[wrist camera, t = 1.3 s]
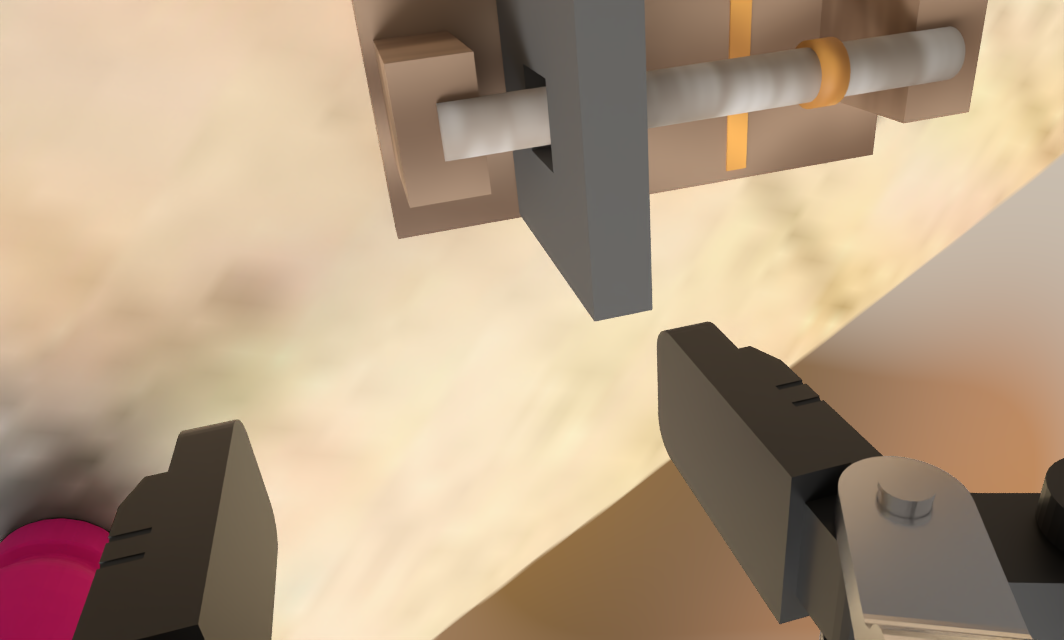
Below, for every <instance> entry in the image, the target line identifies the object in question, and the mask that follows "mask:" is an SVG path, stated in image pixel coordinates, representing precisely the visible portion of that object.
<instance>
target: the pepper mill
mask: <svg viewBox="0 0 1064 640" xmlns="http://www.w3.org/2000/svg"><path fill="white" fill-rule="evenodd" d="M108 536H109V532H107V531H106V530H104V529H103V528H101V527H98V526H95V525H93V524H90V523H88V522H85V521H79V520H72V519H65V518H59V519H47V520H41V521H37V522H34V523H30V524H27V525H25V526H23V527H21V528H19V529H17V530H15V531H14V532H12V533H11V534H9V535H8V536H7V537H6V538H5V539H4V540H3V541H2V542H1V543H0V640H72V638H73V635H74V632H75V630H76V627H77V624H78V621H79V618H80V615H81V613H82V610H83V607H84V604H85V601H86V598H87V596H88V593H89V590H90V587H91V584H92V581H93V579H94V576H95V573H96V570H97V569H100V564H99V562H100V559H101V556H102V553H103V550H104V547H105V545H106V543H109V538H108Z"/></svg>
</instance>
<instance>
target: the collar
mask: <svg viewBox="0 0 1064 640" xmlns="http://www.w3.org/2000/svg"><path fill="white" fill-rule="evenodd" d="M496 5H497V14H498V23H499V32H500V41H501V50H502V59H503V68H504V77H505V86H506V92H512V91H518V90H525V89H532V88H538V87H545V86H546V92H547V103H548V115H549V127H550V138H551V144H550V145H544V146H538V147H532V148H526V149H520V150H514V151H513V159H514V168H515V177H516V186H517V195H518V204H519V213H520V215H521V217H522V218H523V220H524V221H525V222H526V224H527V225H528V227H529V228H530V230H531V231H532V232H533V234H534V235H535V237H536V238H537V240H538V241H539V242H540V244H541V245H542V247H543V248H544V250H545V251H546V253H547V254H548V255H549V257H550V258H551V260H552V261H553V263H554V264H555V265H556V267H557V268H558V270H559V271H560V273H561V274H562V275H563V277H564V278H565V280H566V281H567V283H568V284H569V285H570V287H571V288H572V290H573V291H574V293H575V294H576V296H577V297H578V298H579V300H580V301H581V303H582V304H583V306H584V307H585V308H586V310H587V311H588V313H589V314H590V316H591V317H592V318H593V320H594V321H599V320H604V319H609V318H614V317H619V316H624V315H629V314H634V313H639V312H643V311H648V310H652V277H651V238H650V199H649V160H648V120H647V81H646V42H645V3H644V0H496Z"/></svg>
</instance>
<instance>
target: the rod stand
mask: <svg viewBox="0 0 1064 640" xmlns="http://www.w3.org/2000/svg"><path fill="white" fill-rule="evenodd" d="M644 3H645V42H646V81H647V120H648V160H649V194H654V193H659V192H665V191H671V190H676V189H682V188H687V187H693V186H699V185H704V184H710V183H715V182H721V181H727V180H732V179H738V178H744V177H749V176H755V175H760V174H766V173H772V172H777V171H783V170H788V169H794V168H800V167H805V166H811V165H817V164H822V163H828V162H833V161H839V160H845V159H850V158H856V157H862V156H867V155H873V148H874V139H875V130H876V122H877V115H880V116H883V117H886V118H889V119H892V120H896V121H899V122H902V123H908V122H914V121H919V120H925V119H931V118H937V117H943V116H949V115H954V114H960V113H966V112H969V108H970V102H971V96H972V90H973V85H974V79H975V73H976V67H977V61H978V55H979V50H980V44H981V38H982V32H983V26H984V20H985V14H986V9H987V3H988V0H644ZM352 4H353V10H354V15H355V20H356V25H357V30H358V36H359V41H360V46H361V51H362V56H363V61H364V67H365V72H366V77H367V82H368V87H369V93H370V98H371V103H372V108H373V113H374V119H375V124H376V129H377V134H378V139H379V144H380V150H381V155H382V160H383V165H384V170H385V176H386V181H387V186H388V191H389V196H390V202H391V207H392V212H393V217H394V222H395V227H396V231H397V236H398V239H401V238H407V237H412V236H418V235H423V234H429V233H435V232H440V231H446V230H451V229H457V228H463V227H468V226H474V225H480V224H485V223H491V222H496V221H502V220H508V219H513V218H519V217H521V215H520V213H519V204H518V195H517V186H516V177H515V168H514V159H513V151H514V150H520V149H526V148H532V147H538V146H544V145H550V144H551V138H550V127H549V115H548V103H547V92H546V86H545V87H538V88H532V89H525V90H518V91H512V92H506V86H505V77H504V68H503V59H502V50H501V41H500V32H499V23H498V14H497V5H496V0H352Z"/></svg>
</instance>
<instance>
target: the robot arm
mask: <svg viewBox="0 0 1064 640" xmlns="http://www.w3.org/2000/svg"><path fill="white" fill-rule="evenodd" d="M657 372H658V416H659V426H660V431H661V435H662V439H663V442H664V445H665V448H666V450H667V452H668V454H669V456H670V458H671V460H672V461H673V463H674V464H675V466H676V467H677V469H678V470H679V472H680V473H681V475H682V476H683V478H684V479H685V481H686V483H687V484H688V486H689V487H690V489H691V490H692V492H693V493H694V495H695V496H696V498H697V499H698V501H699V502H700V504H701V505H702V507H703V508H704V510H705V511H706V513H707V514H708V516H709V517H710V519H711V521H712V522H713V523H714V525H715V527H716V528H717V530H718V531H719V533H720V534H721V536H722V537H723V539H724V540H725V542H726V543H727V545H728V546H729V548H730V549H731V551H732V553H733V554H734V555H735V557H736V558H737V560H738V562H739V563H740V565H741V566H742V568H743V569H744V571H745V572H746V574H747V575H748V577H749V578H750V580H751V581H752V583H753V584H754V586H755V587H756V589H757V591H758V592H759V594H760V595H761V597H762V598H763V600H764V601H765V603H766V604H767V606H768V607H769V609H770V610H771V612H772V613H773V615H774V616H775V618H776V619H777V621H778V622H779V624H782V623H785V622H789V621H792V620H796V619H799V618H803V617H806V616H810V617H811V618H812V619H813V621H814V622H815V624H816V625H817V626H818V628H819V629H820V639H819V640H1064V458H1063V459H1061V460H1059V461H1057V462H1055V463H1054V464H1053V465H1052V466H1051V467H1050V468H1049V469H1048V471H1047V473H1046V477H1045V480H1044V484H1043V488H1042V491H1041V493H970V492H969V491H968V490H967V489H966V488H965V486H964V485H963V484H962V483H960V482H959V481H958V480H957V479H956V478H955V477H953V476H951V475H950V474H949V473H947V472H945V471H943V470H941V469H940V468H938V467H935V466H933V465H930V464H928V463H925V462H922V461H919V460H915V459H910V458H905V457H896V456H883V455H881V454H880V453H879V452H878V451H877V450H876V449H875V448H874V447H873V446H872V445H871V444H870V443H868V441H867V440H865V439H864V438H863V437H862V436H861V435H860V434H859V433H858V432H857V431H856V430H855V429H854V428H853V427H852V426H850V425H849V424H848V423H847V422H846V421H845V420H844V419H843V418H842V417H841V416H840V415H839V414H838V413H837V412H835V410H834V409H832V408H831V407H830V406H829V405H828V404H827V403H826V402H825V401H824V400H823V401H820V398H819V395H818V394H816V393H815V392H814V391H813V390H812V389H811V388H810V387H809V386H808V385H807V384H803V383H802V380H801V378H799V377H798V376H797V375H796V374H795V373H794V372H793V371H792V370H791V369H790V368H789V367H788V366H787V365H786V364H785V363H784V362H782V361H781V360H780V359H777V358H775V357H773V356H771V355H769V354H766V353H764V352H762V351H760V350H758V349H756V348H753V347H751V346H748V347H744V348H739V349H738V348H737V347H736V346H735V345H734V344H733V343H732V342H731V341H730V340H729V339H728V338H727V337H726V336H725V335H724V334H723V333H722V332H721V331H720V330H719V329H718V328H717V327H716V326H715V325H714V324H713V323H711V322H704V323H699V324H694V325H689V326H684V327H680V328H675V329H670V330H665V331H662V332H661V333H660V334H659V336H658V340H657ZM108 538H109V543H106V545H105V547H104V550H103V553H102V556H101V559H100V562H99V564H100V569H97V570H96V573H95V576H94V579H93V581H92V584H91V587H90V590H89V593H88V596H87V598H86V601H85V604H84V607H83V610H82V613H81V615H80V618H79V621H78V624H77V627H76V630H75V632H74V635H73V638H72V640H271V636H272V622H273V608H274V595H275V581H276V567H277V553H278V542H277V531H276V524H275V519H274V514H273V510H272V506H271V503H270V500H269V497H268V494H267V491H266V488H265V485H264V482H263V479H262V476H261V473H260V471H259V468H258V465H257V462H256V459H255V456H254V453H253V450H252V447H251V444H250V441H249V438H248V435H247V432H246V430H245V428H244V426H243V424H242V422H241V421H240V420H232V421H228V422H223V423H218V424H213V425H209V426H204V427H199V428H194V429H190V430H185V431H182V432H180V434H179V436H178V439H177V442H176V446H175V449H174V453H173V456H172V460H171V463H170V467H169V470H168V472H165V473H160V474H156V475H151V476H147V477H144V478H143V480H142V481H141V482H140V483H139V484H138V485H137V486H136V488H135V489H134V490H133V491H132V492H131V493H130V494H129V496H128V497H127V498H126V499H125V500H124V501H123V502H122V504H121V505H120V506H119V508H118V511H117V513H116V516H115V519H114V522H113V525H112V528H111V530H110V533H109V536H108Z"/></svg>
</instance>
